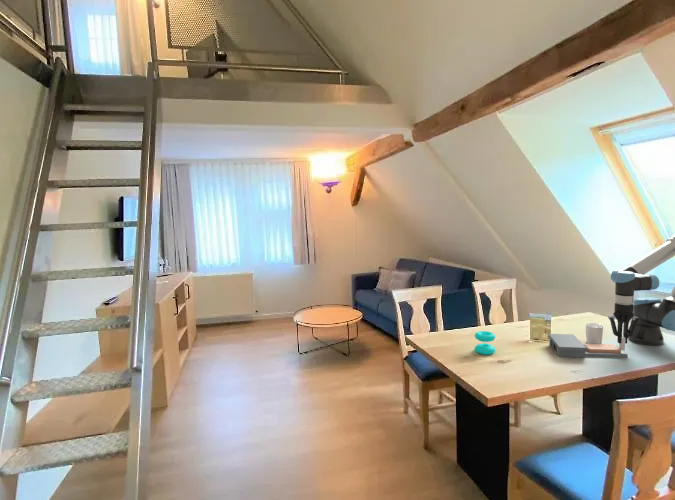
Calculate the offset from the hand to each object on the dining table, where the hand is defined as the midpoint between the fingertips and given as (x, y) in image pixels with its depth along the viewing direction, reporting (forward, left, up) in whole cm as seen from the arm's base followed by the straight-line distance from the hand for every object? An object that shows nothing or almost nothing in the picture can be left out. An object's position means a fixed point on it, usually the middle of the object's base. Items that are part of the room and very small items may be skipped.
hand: (621, 349), depth 204 cm
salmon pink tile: (+9, 0, -2) cm, 9 cm away
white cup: (+8, -13, -2) cm, 16 cm away
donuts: (+65, +5, -2) cm, 65 cm away
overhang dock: (+15, 0, -2) cm, 16 cm away
